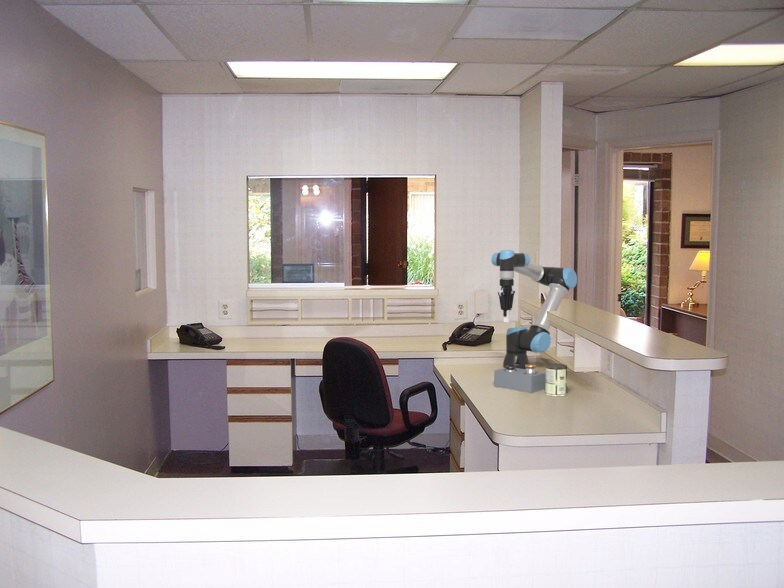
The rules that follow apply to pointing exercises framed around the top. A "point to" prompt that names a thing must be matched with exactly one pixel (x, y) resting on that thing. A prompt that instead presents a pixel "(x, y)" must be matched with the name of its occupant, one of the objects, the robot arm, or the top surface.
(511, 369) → the dark-lidded glass jar
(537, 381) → the block
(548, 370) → the coffee can
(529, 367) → the plunger orange
